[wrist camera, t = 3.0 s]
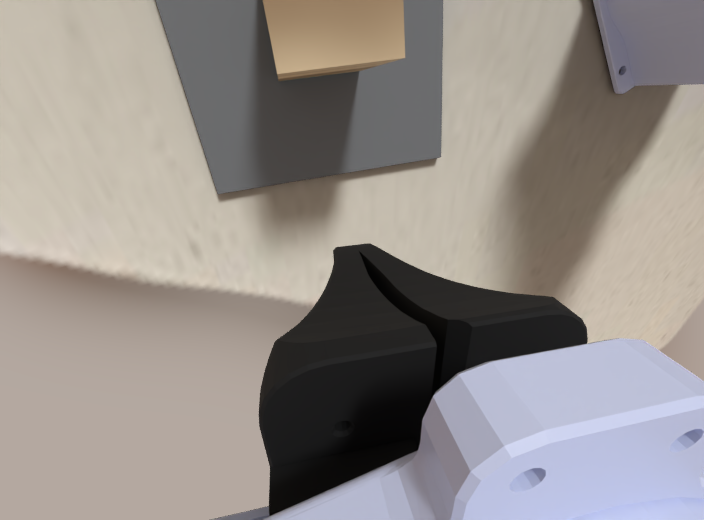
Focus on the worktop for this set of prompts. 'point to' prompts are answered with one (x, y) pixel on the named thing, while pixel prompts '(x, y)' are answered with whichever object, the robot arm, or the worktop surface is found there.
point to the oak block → (333, 35)
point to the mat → (302, 98)
